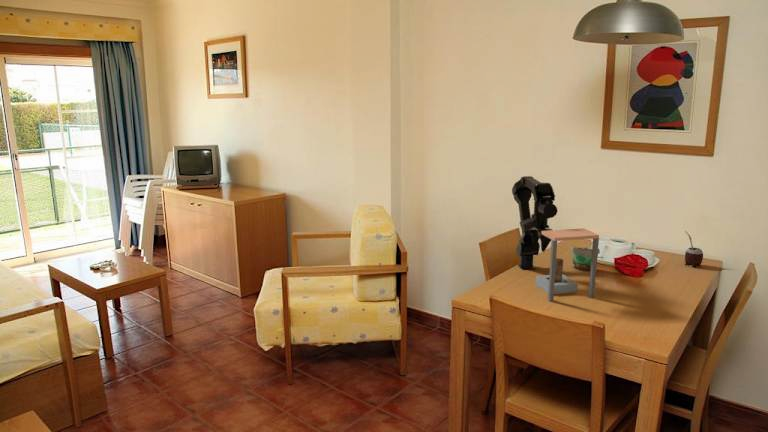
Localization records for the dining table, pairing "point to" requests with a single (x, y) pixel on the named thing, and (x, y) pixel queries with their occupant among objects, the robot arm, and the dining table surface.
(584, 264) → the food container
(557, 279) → the peg
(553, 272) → the small table
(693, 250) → the mate gourd
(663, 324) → the dining table surface
